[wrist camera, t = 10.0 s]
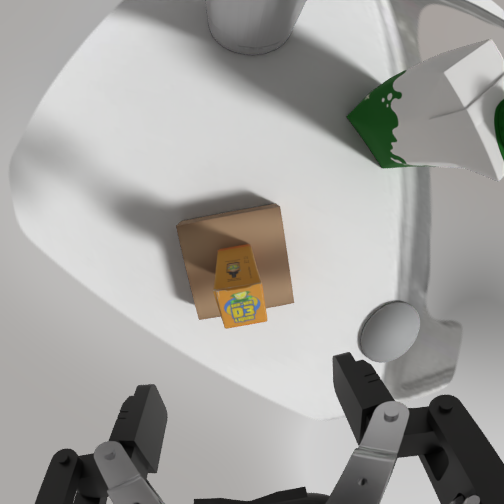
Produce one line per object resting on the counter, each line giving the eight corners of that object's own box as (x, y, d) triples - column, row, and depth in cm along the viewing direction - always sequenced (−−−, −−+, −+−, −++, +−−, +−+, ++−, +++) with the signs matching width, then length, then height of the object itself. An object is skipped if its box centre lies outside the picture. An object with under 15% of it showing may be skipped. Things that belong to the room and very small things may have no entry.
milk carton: (380, 179, 32) (520, 199, 12) (334, 113, 29) (452, 55, 10) (427, 139, 31) (561, 134, 11) (386, 77, 28) (507, 20, 9)
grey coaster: (360, 311, 35) (361, 312, 35) (419, 294, 36) (421, 296, 35) (360, 367, 38) (361, 369, 37) (415, 349, 38) (417, 351, 37)
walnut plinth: (181, 221, 31) (176, 226, 29) (275, 203, 32) (280, 206, 29) (201, 307, 34) (199, 319, 31) (289, 292, 34) (294, 302, 31)
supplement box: (224, 282, 30) (220, 331, 21) (217, 248, 29) (210, 285, 20) (257, 276, 30) (268, 323, 21) (251, 242, 29) (261, 276, 20)
